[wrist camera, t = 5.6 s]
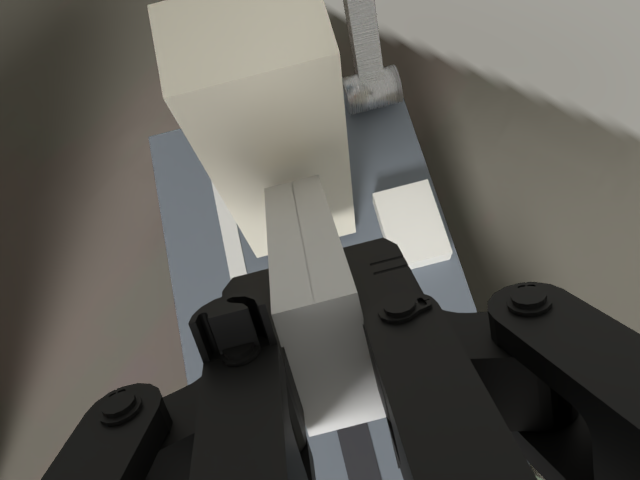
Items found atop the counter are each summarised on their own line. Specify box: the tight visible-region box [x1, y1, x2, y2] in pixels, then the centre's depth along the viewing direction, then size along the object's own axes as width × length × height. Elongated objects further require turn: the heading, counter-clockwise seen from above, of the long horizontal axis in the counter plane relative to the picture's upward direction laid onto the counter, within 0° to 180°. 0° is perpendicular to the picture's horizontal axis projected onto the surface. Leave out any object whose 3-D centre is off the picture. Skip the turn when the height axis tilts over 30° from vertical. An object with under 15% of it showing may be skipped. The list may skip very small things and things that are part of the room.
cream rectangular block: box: [147, 0, 356, 258], centre depth 17 cm, size 2×4×10 cm, turn 105°
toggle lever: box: [342, 0, 403, 115], centre depth 20 cm, size 2×2×8 cm
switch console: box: [149, 98, 530, 480], centre depth 22 cm, size 18×10×5 cm, turn 14°
